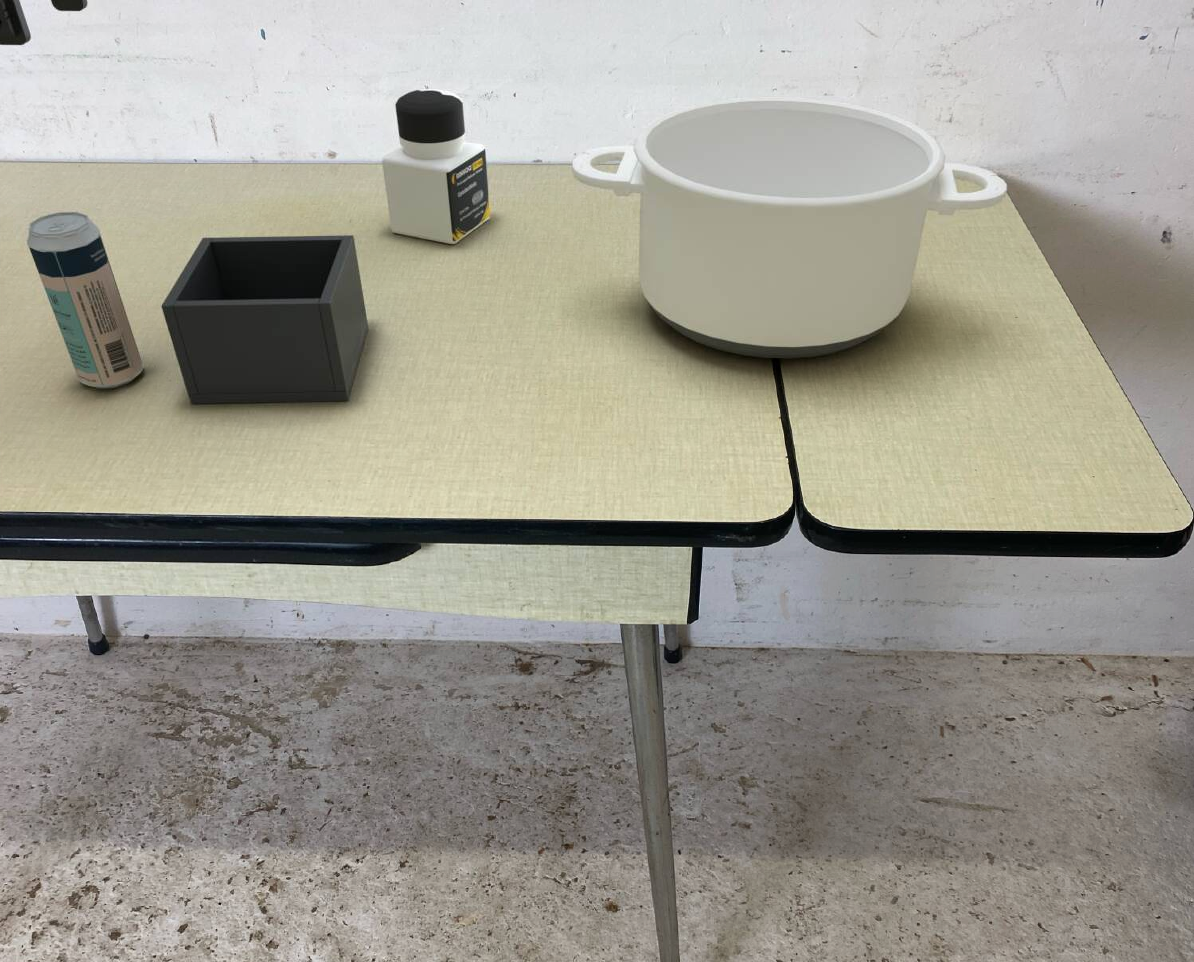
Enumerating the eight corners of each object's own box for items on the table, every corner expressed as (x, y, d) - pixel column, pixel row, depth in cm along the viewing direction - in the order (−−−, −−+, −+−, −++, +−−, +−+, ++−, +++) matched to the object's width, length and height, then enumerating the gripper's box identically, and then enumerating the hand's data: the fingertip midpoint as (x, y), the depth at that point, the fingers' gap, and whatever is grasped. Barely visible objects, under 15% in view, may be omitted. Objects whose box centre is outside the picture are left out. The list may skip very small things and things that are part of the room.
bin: (190, 404, 77) (160, 305, 72) (226, 330, 86) (202, 237, 81) (348, 401, 77) (329, 302, 72) (368, 327, 86) (353, 234, 81)
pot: (958, 264, 95) (996, 104, 85) (986, 397, 77) (1038, 215, 68) (597, 241, 99) (596, 86, 90) (548, 362, 82) (541, 186, 73)
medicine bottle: (454, 246, 98) (441, 111, 90) (390, 233, 100) (372, 100, 92) (491, 218, 103) (482, 88, 95) (429, 207, 105) (415, 79, 97)
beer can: (152, 360, 82) (104, 208, 74) (136, 391, 79) (83, 235, 71) (90, 362, 82) (35, 210, 74) (71, 393, 78) (11, 237, 70)
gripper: (-58, -300, 64) (37, 0, 75) (-205, -293, 53) (-69, 55, 64) (62, -300, 63) (140, 1, 74) (-62, -293, 53) (51, 57, 64)
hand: (44, 26), depth 69 cm, fingers open, 8 cm apart
